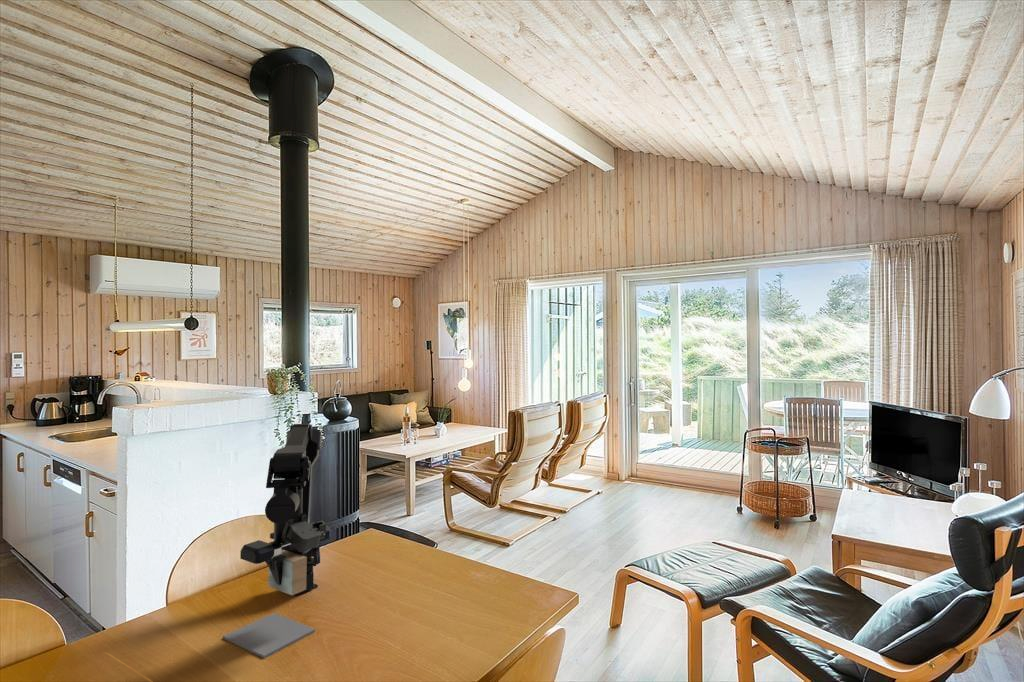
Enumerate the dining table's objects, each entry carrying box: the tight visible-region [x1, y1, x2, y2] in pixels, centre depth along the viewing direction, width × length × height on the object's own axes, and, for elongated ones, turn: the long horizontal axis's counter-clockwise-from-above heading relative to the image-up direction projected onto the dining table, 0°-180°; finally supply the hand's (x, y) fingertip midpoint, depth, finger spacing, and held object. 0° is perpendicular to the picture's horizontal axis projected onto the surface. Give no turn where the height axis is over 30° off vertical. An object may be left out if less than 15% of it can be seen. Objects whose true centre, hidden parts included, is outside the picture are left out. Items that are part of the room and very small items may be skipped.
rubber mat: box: [222, 612, 316, 659], centre depth 113 cm, size 14×12×1 cm
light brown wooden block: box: [268, 550, 307, 596], centre depth 117 cm, size 8×4×7 cm, turn 59°
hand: (287, 581), depth 117 cm, fingers closed on light brown wooden block, 4 cm apart
